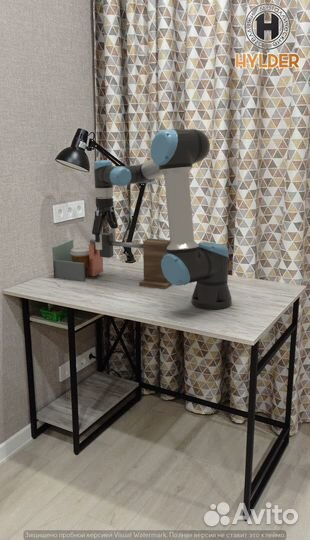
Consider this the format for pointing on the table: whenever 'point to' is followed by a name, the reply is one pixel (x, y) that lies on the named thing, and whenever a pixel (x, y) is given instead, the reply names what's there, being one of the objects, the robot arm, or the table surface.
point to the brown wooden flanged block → (154, 263)
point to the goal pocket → (66, 263)
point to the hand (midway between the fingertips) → (106, 246)
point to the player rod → (104, 253)
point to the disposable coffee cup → (81, 255)
